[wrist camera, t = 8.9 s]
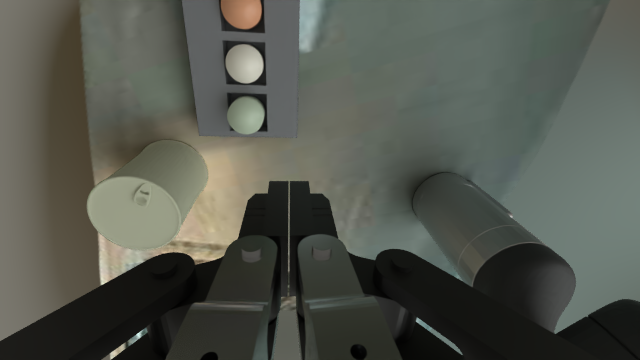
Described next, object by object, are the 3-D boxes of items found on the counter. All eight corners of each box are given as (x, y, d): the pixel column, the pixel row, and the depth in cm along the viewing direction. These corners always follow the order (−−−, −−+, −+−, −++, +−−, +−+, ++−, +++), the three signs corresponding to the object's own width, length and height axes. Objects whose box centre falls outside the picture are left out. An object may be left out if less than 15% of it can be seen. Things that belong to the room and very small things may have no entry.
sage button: (264, 95, 35) (262, 100, 33) (265, 127, 37) (263, 134, 34) (230, 94, 35) (225, 98, 32) (233, 127, 37) (228, 133, 34)
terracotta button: (262, -11, 32) (260, -15, 29) (263, 30, 34) (261, 29, 31) (224, -14, 32) (218, -18, 29) (228, 28, 33) (222, 27, 31)
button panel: (299, -18, 33) (300, -23, 30) (296, 131, 40) (297, 137, 37) (187, -26, 32) (177, -32, 29) (205, 129, 39) (199, 135, 36)
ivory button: (264, 44, 34) (262, 45, 32) (265, 80, 36) (263, 84, 33) (229, 43, 34) (223, 43, 31) (231, 79, 36) (227, 82, 33)
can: (218, 158, 41) (192, 201, 30) (194, 209, 44) (163, 264, 33) (150, 127, 38) (95, 162, 27) (130, 183, 41) (73, 235, 30)
